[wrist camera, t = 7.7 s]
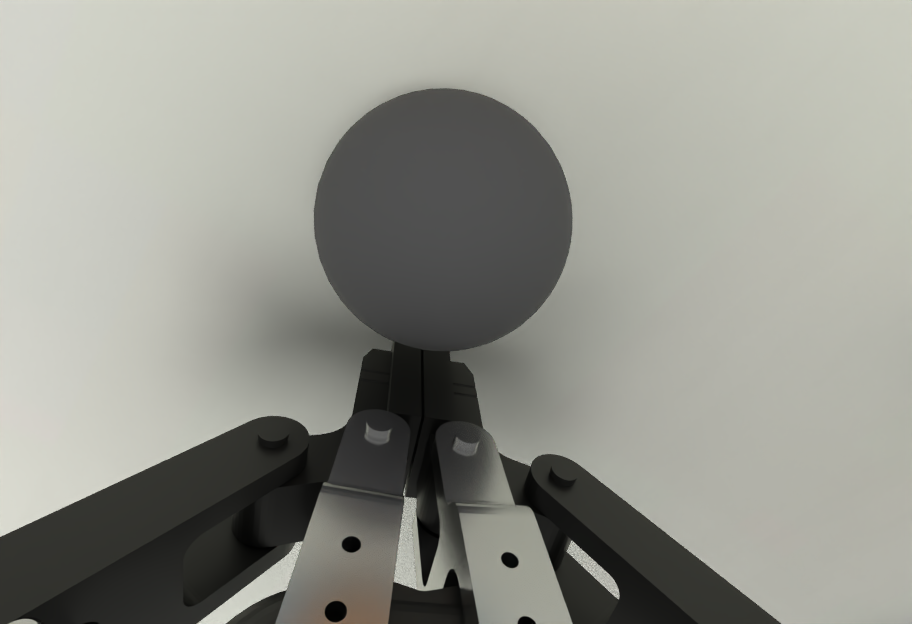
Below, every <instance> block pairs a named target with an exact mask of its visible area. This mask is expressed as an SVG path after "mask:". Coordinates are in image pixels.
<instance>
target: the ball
mask: <svg viewBox="0 0 912 624" xmlns="http://www.w3.org/2000/svg"><path fill="white" fill-rule="evenodd" d="M314 229H315V239H316V244H317V249H318V253H319V258H320V261H321V263H322V266H323V268H324V271H325V273H326V275H327V278H328V280H329V282H330V284H331V285H332V287H333V289H334V290H335V292H336V293H337V295H338V296H339V298H340V299H341V301H342V302H343V303H344V304H345V305H346V307H347V308H348V309H349V310H350V311H351V312H352V313H353V314H354V315H355V316H356V317H357V318H358V319H359V320H361V321H362V322H363V323H364V324H366V325H367V326H369V327H370V328H371V329H373V330H374V331H376V332H377V333H379V334H381V335H382V336H384V337H386V338H388V339H390V340H393V341H395V342H398V343H401V344H404V345H407V346H410V347H413V348H418V349H423V350H430V351H458V350H464V349H469V348H474V347H477V346H481V345H484V344H487V343H490V342H492V341H495V340H497V339H499V338H501V337H503V336H505V335H506V334H508V333H510V332H512V331H513V330H515V329H516V328H518V327H519V326H521V325H522V324H523V323H524V322H525V321H526V320H527V319H529V318H530V317H531V316H532V315H533V314H534V313H535V312H536V311H537V310H538V309H539V308H540V307H541V305H542V304H543V303H544V302H545V300H546V299H547V298H548V296H549V295H550V293H551V292H552V290H553V289H554V287H555V285H556V283H557V281H558V279H559V277H560V275H561V273H562V271H563V268H564V266H565V263H566V259H567V256H568V253H569V248H570V243H571V235H572V204H571V199H570V193H569V189H568V185H567V181H566V178H565V175H564V173H563V170H562V167H561V165H560V163H559V161H558V159H557V158H556V156H555V154H554V152H553V151H552V149H551V147H550V145H549V144H548V143H547V142H546V140H545V139H544V138H543V137H542V136H541V134H540V133H539V132H538V131H537V130H536V128H535V127H534V126H533V125H532V124H530V123H529V122H528V121H527V120H526V119H525V118H524V117H523V116H521V115H520V114H518V113H517V112H515V111H514V110H512V109H511V108H509V107H508V106H506V105H504V104H502V103H500V102H498V101H496V100H494V99H492V98H490V97H487V96H484V95H481V94H478V93H474V92H469V91H465V90H458V89H446V88H445V89H427V90H421V91H415V92H411V93H408V94H404V95H401V96H398V97H396V98H394V99H392V100H390V101H387V102H385V103H383V104H381V105H379V106H378V107H376V108H374V109H373V110H371V111H370V112H368V113H367V114H366V115H364V116H363V117H362V118H361V119H360V120H359V121H357V122H356V123H355V124H354V125H353V126H352V127H351V128H350V129H349V130H348V131H347V132H346V134H345V135H344V136H343V137H342V138H341V139H340V141H339V142H338V144H337V146H336V147H335V149H334V150H333V152H332V154H331V155H330V157H329V159H328V161H327V163H326V165H325V168H324V171H323V173H322V176H321V179H320V182H319V184H318V189H317V195H316V201H315V207H314Z"/></svg>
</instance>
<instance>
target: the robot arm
mask: <svg viewBox="0 0 912 624" xmlns="http://www.w3.org/2000/svg"><path fill="white" fill-rule="evenodd" d="M405 484H406V487H405ZM404 488H405V497H412V498H417V508H416V512H415V515H414V519H413V523H412V533H413V546H414V559H415V572H416V585H417V590H416V589H413V588H410V587H407V586H404V585H401V584H398V583H395V582H394V574H395V566H396V559H397V551H398V543H399V536H400V528H401V520H402V513H403V505H404V496H403V492H404ZM571 540H572V541H574V542H575V543H576V544H577V545H578V546H579V547H580V548H581V549H582V550H583V551H585V552H586V553H587V554H588V555H589V556H590V557H591V558H592V559H593V560H594V561H596V562H597V563H598V564H599V565H600V566H601V567H602V568H603V569H604V570H605V571H607V572H608V573H609V574H610V575H611V576H612V578H613V579H614V580H615V582H616V584H617V586H618V589H619V593H620V598H619V600H618V599H617V598H616V597H614V596H613V595H612V594H611V593H610V592H609V591H608V590H607V589H606V588H605V587H604V586H603V585H601V584H600V583H599V582H598V581H597V580H596V579H595V578H594V577H593V576H592V575H591V574H590V573H589V572H588V571H586V570H585V569H584V568H583V567H582V566H581V565H580V564H579V563H578V562H577V561H576V560H575V559H574V558H573V557H572V556H570V555H569V554H568V553H567V552H566V551H567V549H568V547H569V545H570V543H571ZM300 541H303V543H302V546H301V549H300V552H299V555H298V558H297V561H296V564H295V567H294V570H293V573H292V576H291V579H290V582H289V585H288V588H287V590H286V591H282V592H279V593H277V594H274V595H272V596H269V597H267V598H265V599H263V600H261V601H259V602H257V603H255V604H253V605H252V606H250V607H248V608H247V609H245V610H244V611H242V612H241V613H239V614H238V615H236V616H235V617H234V618H233V619H231V620H230V621H229V622H228V623H226V624H781V623H780V622H778V621H777V620H776V619H775V618H773V617H772V616H771V615H770V614H768V613H767V612H766V611H764V610H763V609H762V608H761V607H759V606H758V605H757V604H756V603H754V602H753V601H752V600H750V599H749V598H748V597H747V596H745V595H744V594H743V593H742V592H740V591H739V590H738V589H736V588H735V587H734V586H733V585H731V584H730V583H729V582H727V581H726V580H725V579H724V578H722V577H721V576H720V575H719V574H717V573H716V572H715V571H713V570H712V569H711V568H710V567H708V566H707V565H706V564H705V563H703V562H702V561H701V560H699V559H698V558H697V557H696V556H694V555H693V554H692V553H691V552H689V551H688V550H687V549H685V548H684V547H683V546H682V545H680V544H679V543H678V542H677V541H675V540H674V539H673V538H671V537H670V536H669V535H668V534H666V533H665V532H664V531H662V530H661V529H660V528H659V527H657V526H656V525H655V524H654V523H652V522H651V521H650V520H648V519H647V518H646V517H645V516H643V515H642V514H641V513H640V512H638V511H637V510H636V509H634V508H633V507H632V506H631V505H629V504H628V503H627V502H626V501H624V500H623V499H622V498H620V497H619V496H618V495H617V494H615V493H614V492H613V491H612V490H610V489H609V488H608V487H606V486H605V485H604V484H603V483H601V482H600V481H599V480H598V479H596V478H595V477H594V476H592V475H591V474H590V473H589V472H587V471H586V470H585V469H583V468H582V467H581V466H580V465H578V464H577V463H575V462H574V461H572V460H570V459H568V458H565V457H562V456H559V455H553V454H545V455H541V456H538V457H537V458H535V459H534V460H533V462H532V464H531V466H528V465H525V464H522V463H520V462H517V461H514V460H512V459H510V458H507V457H505V456H504V455H502V454H500V453H499V452H498V450H497V446H496V443H495V441H494V439H493V438H492V436H491V435H490V434H489V433H488V432H487V431H486V430H484V429H483V426H482V421H481V415H480V410H479V404H478V399H477V393H476V388H475V383H474V377H473V374H472V373H471V371H470V370H469V369H468V368H467V367H466V365H465V364H464V363H459V362H453V361H450V353H449V351H430V350H423V349H418V348H413V347H410V346H407V345H404V344H401V343H398V342H395V341H393V344H392V349H391V352H390V351H384V350H378V349H372V350H371V351H370V352H369V353H368V354H367V355H365V356H364V357H363V362H362V367H361V372H360V378H359V383H358V388H357V393H356V398H355V404H354V409H353V414H352V417H351V418H350V419H349V420H348V422H347V424H346V425H345V426H344V427H343V428H341V429H339V430H337V431H334V432H331V433H327V434H321V435H311V436H309V434H308V431H307V430H306V428H305V427H304V426H303V425H302V424H300V423H299V422H297V421H295V420H293V419H290V418H286V417H281V416H267V417H261V418H257V419H254V420H252V421H250V422H247V423H245V424H243V425H241V426H239V427H237V428H234V429H232V430H230V431H228V432H226V433H224V434H221V435H219V436H217V437H215V438H213V439H211V440H209V441H206V442H204V443H202V444H200V445H198V446H196V447H193V448H191V449H189V450H187V451H185V452H183V453H181V454H178V455H176V456H174V457H172V458H170V459H168V460H165V461H163V462H161V463H159V464H157V465H155V466H153V467H150V468H148V469H146V470H144V471H142V472H140V473H137V474H135V475H133V476H131V477H129V478H127V479H125V480H122V481H120V482H118V483H116V484H114V485H112V486H109V487H107V488H105V489H103V490H101V491H99V492H96V493H94V494H92V495H90V496H88V497H86V498H84V499H81V500H79V501H77V502H75V503H73V504H71V505H68V506H66V507H64V508H62V509H60V510H58V511H56V512H53V513H51V514H49V515H47V516H45V517H43V518H40V519H38V520H36V521H34V522H32V523H30V524H28V525H25V526H23V527H21V528H19V529H17V530H15V531H12V532H10V533H8V534H6V535H4V536H2V537H0V624H197V623H198V622H199V621H201V620H202V619H203V618H205V617H206V616H207V615H209V614H210V613H211V612H213V611H214V610H215V609H216V608H218V607H219V606H220V605H222V604H223V603H224V602H226V601H227V600H228V599H230V598H231V597H232V596H234V595H235V594H236V593H237V592H239V591H240V590H241V589H243V588H244V587H245V586H247V585H248V584H249V583H251V582H252V581H253V580H255V579H256V578H257V577H259V576H260V575H261V574H262V573H264V572H265V571H266V570H268V569H269V568H270V567H272V566H273V565H274V564H276V563H277V562H278V561H280V560H281V559H282V558H283V557H285V556H286V555H287V554H288V553H289V552H290V551H291V550H292V548H293V546H294V545H295V542H300Z"/></svg>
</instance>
